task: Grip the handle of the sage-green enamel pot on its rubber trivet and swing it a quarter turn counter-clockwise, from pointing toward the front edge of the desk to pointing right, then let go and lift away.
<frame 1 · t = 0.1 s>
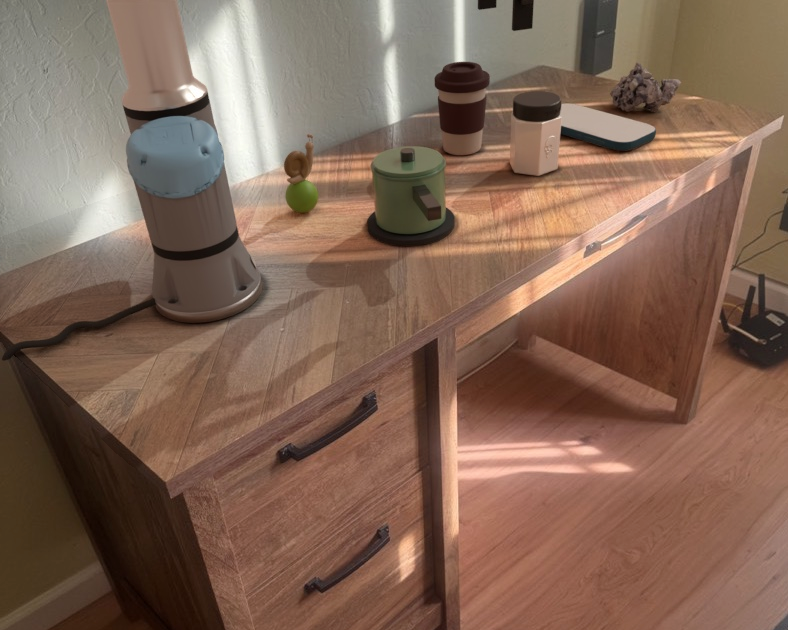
hand: (503, 18, 110), 28 cm above the table, tool pointing down, fingers open, 13 cm apart
jar: (533, 167, 138), on the table
coffee cup: (462, 149, 146), on the table
pot: (416, 194, 115), point 7 cm above the table, hinge at 0.0°
trivet: (411, 225, 122), on the table
mineral specimen: (636, 109, 157), on the table
snail figurine: (306, 211, 129), on the table
external hard drive: (591, 132, 149), on the table
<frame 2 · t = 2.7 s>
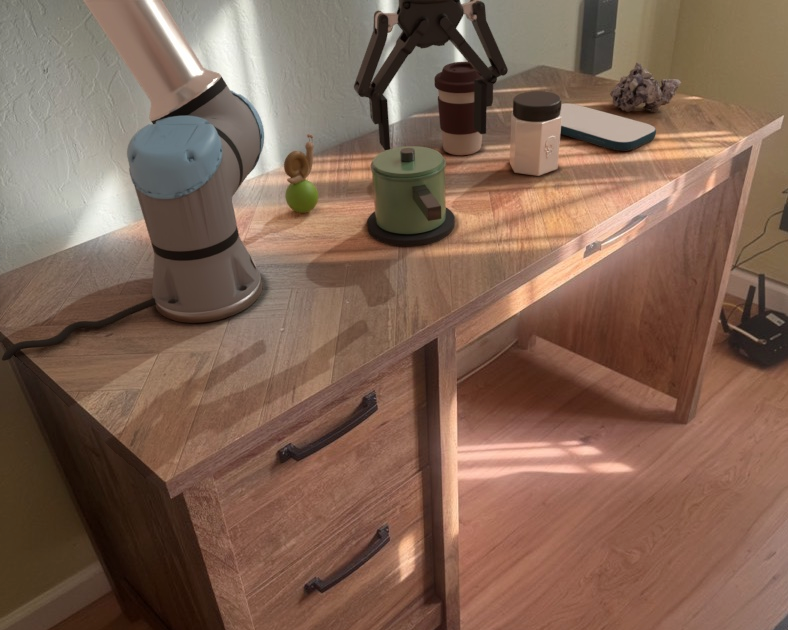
hand: (433, 138, 104), 17 cm above the table, tool pointing down, fingers open, 13 cm apart
nothing on the table moved.
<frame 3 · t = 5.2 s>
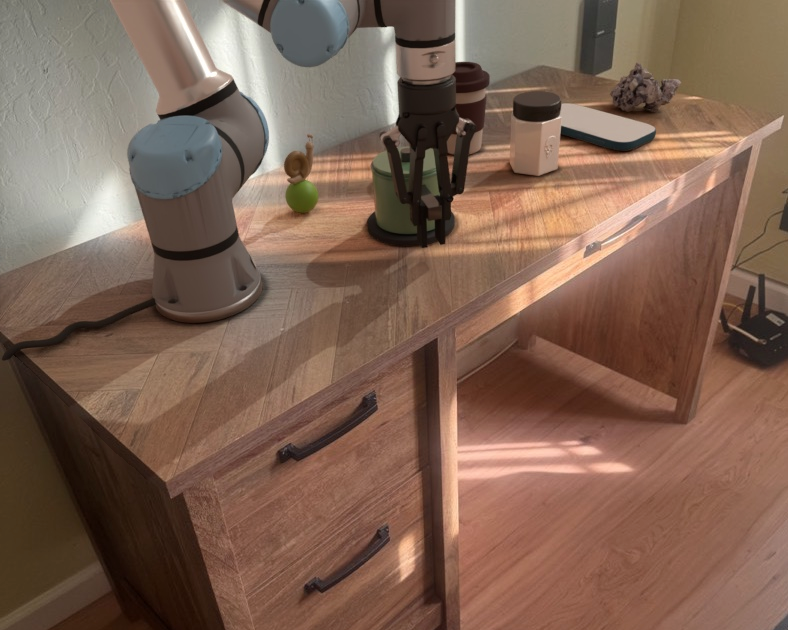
hand: (431, 241, 112), 2 cm above the table, tool pointing down, fingers closed on pot, 2 cm apart
pot: (416, 194, 115), point 7 cm above the table, hinge at 0.2°, touching gripper
everything else where it was.
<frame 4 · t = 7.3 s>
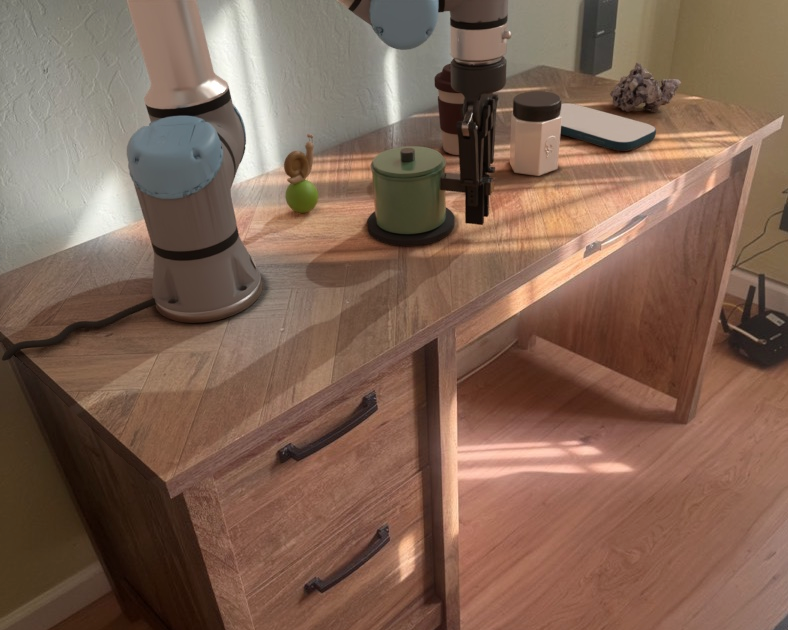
hand: (477, 218, 117), 3 cm above the table, tool pointing down, fingers closed on pot, 2 cm apart
pot: (432, 187, 117), point 7 cm above the table, hinge at 53.1°, touching gripper
everything else where it was.
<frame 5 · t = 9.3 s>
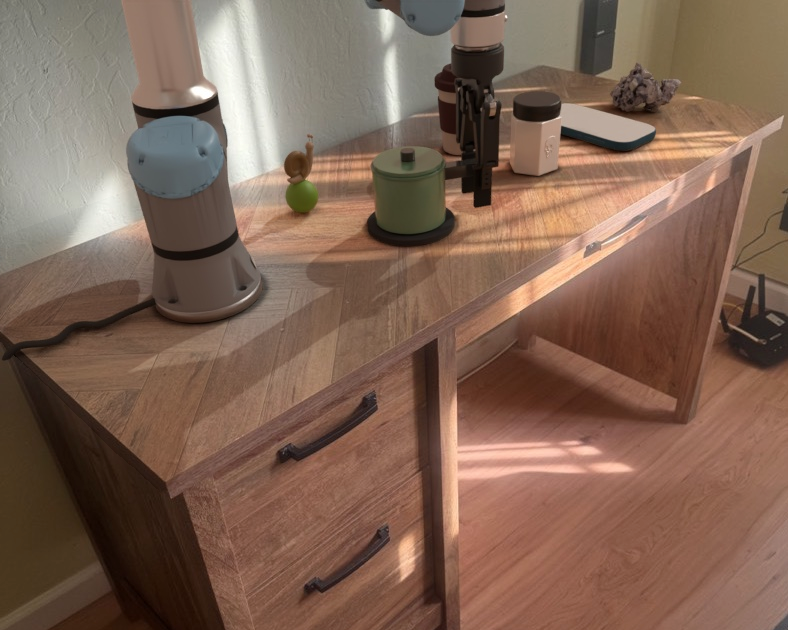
hand: (476, 198, 122), 3 cm above the table, tool pointing down, fingers open, 5 cm apart
pot: (432, 181, 119), point 7 cm above the table, hinge at 90.0°
everything else where it was.
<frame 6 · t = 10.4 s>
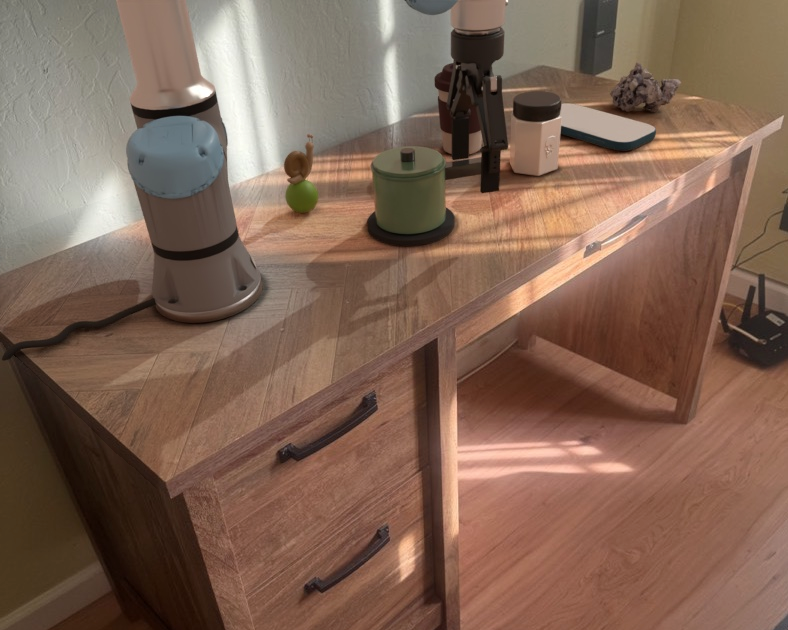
hand: (474, 174, 120), 7 cm above the table, tool pointing down, fingers open, 13 cm apart
nothing on the table moved.
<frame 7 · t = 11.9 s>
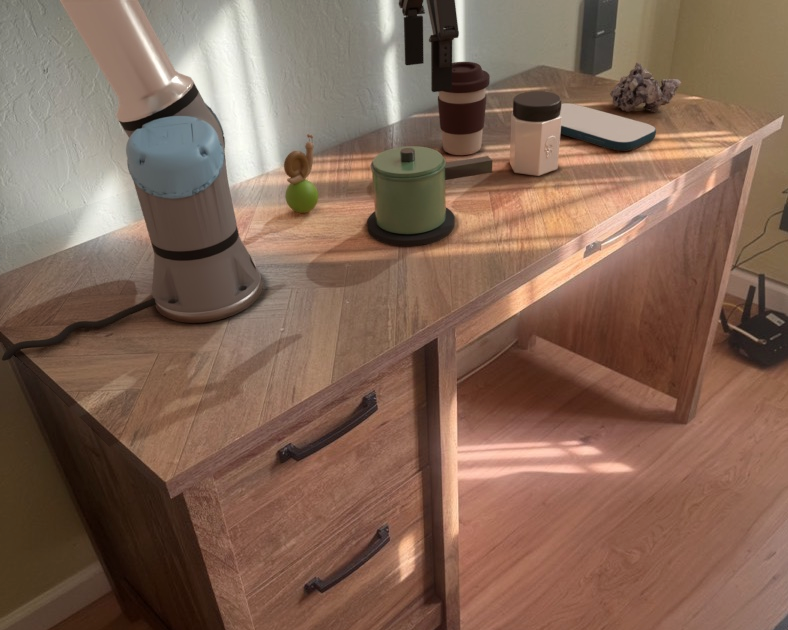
hand: (427, 76, 110), 22 cm above the table, tool pointing down, fingers open, 13 cm apart
nothing on the table moved.
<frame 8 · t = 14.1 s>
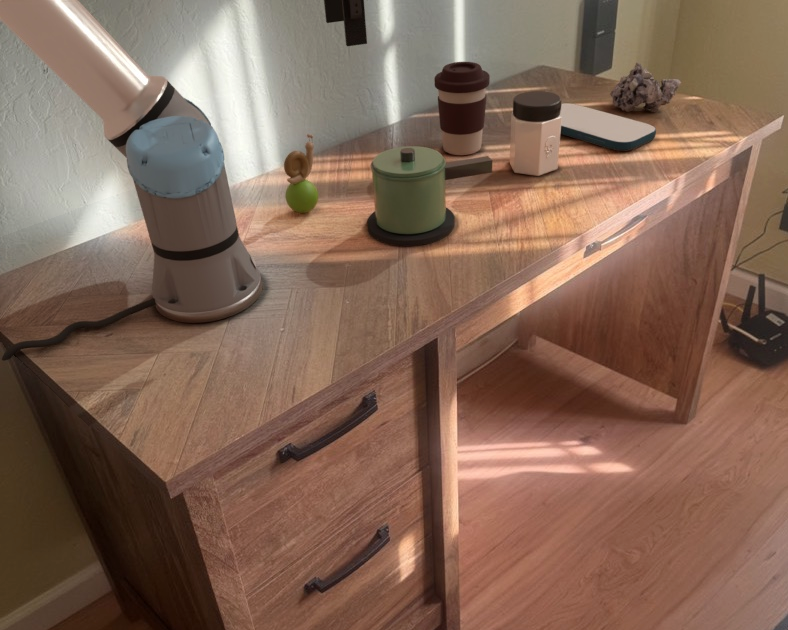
hand: (345, 32, 106), 29 cm above the table, tool pointing down, fingers open, 13 cm apart
nothing on the table moved.
at the end: pot at +90° (first picture: +0°); the gripper is holding nothing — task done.
